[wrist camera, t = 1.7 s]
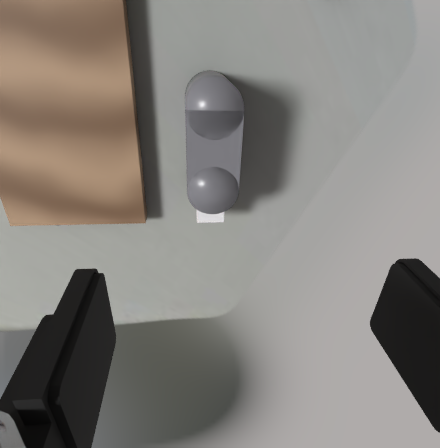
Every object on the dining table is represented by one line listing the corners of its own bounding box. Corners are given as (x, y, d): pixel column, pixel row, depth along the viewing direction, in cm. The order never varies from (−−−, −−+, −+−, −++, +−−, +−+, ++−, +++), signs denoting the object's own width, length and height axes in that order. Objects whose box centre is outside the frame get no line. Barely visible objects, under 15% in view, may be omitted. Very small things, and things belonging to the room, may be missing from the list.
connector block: (184, 69, 25) (184, 77, 20) (234, 71, 25) (246, 78, 20) (187, 205, 31) (188, 235, 26) (228, 204, 31) (235, 234, 26)
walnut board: (-77, -62, 20) (-95, -69, 18) (121, -50, 21) (116, -56, 19) (18, 217, 30) (10, 225, 28) (147, 215, 31) (145, 223, 30)
